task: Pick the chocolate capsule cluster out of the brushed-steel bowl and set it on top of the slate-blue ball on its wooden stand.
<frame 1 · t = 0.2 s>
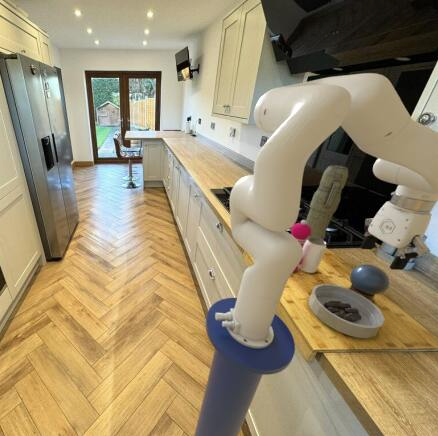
hand: (379, 258, 67), 16 cm above the worktop, tool pointing down, fingers open, 9 cm apart
pepper mill: (287, 267, 89), on the worktop
bowl: (340, 314, 69), on the worktop
moai statue figurine: (308, 245, 104), on the worktop
chocolate capsule cluster: (340, 313, 69), point 1 cm above the worktop, touching bowl
can: (305, 268, 89), on the worktop
ball stand: (359, 296, 76), on the worktop
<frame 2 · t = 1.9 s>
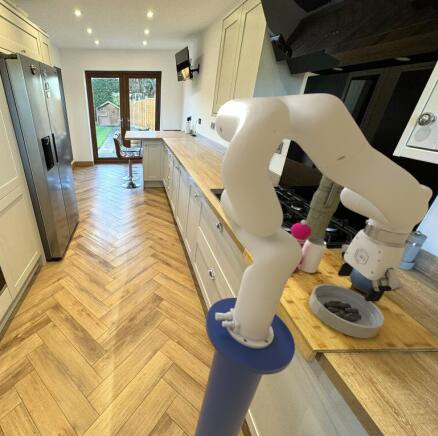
hand: (356, 287, 64), 10 cm above the worktop, tool pointing down, fingers open, 9 cm apart
nothing on the worktop moved.
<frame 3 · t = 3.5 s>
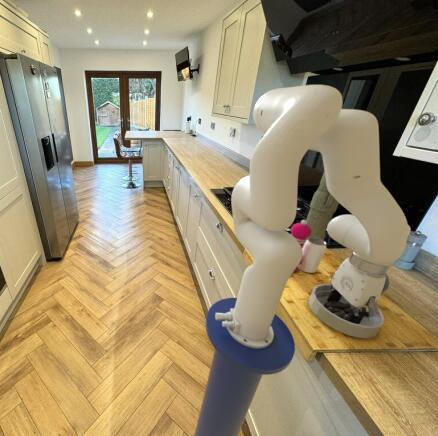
hand: (341, 312, 68), 1 cm above the worktop, tool pointing down, fingers closed on chocolate capsule cluster, 7 cm apart
chocolate capsule cluster: (340, 313, 69), point 1 cm above the worktop, touching bowl, gripper
everything else where it was.
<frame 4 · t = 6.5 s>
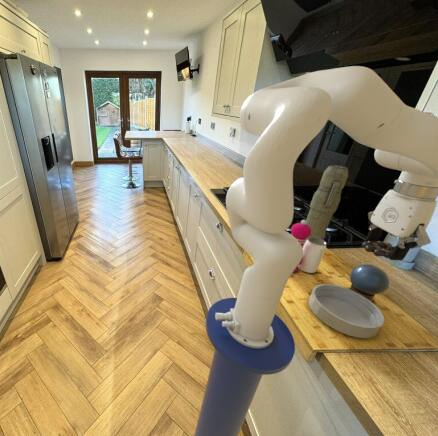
hand: (382, 250, 65), 20 cm above the worktop, tool pointing down, fingers closed on chocolate capsule cluster, 7 cm apart
chocolate capsule cluster: (381, 252, 65), point 19 cm above the worktop, touching gripper
everything else where it was.
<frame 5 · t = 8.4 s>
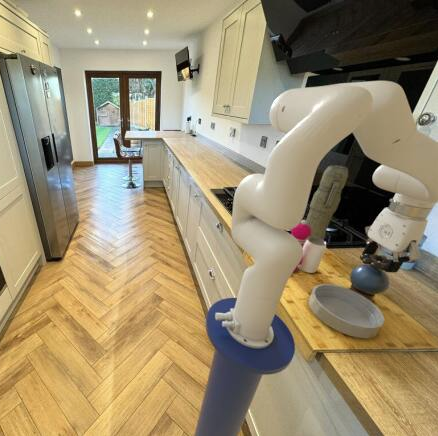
hand: (378, 263, 70), 13 cm above the worktop, tool pointing down, fingers closed on chocolate capsule cluster, 7 cm apart
chocolate capsule cluster: (377, 264, 70), point 13 cm above the worktop, touching gripper
everything else where it was.
when the fingers open (12 cm above the worktop, at t = 9.5 s): chocolate capsule cluster stays where it is, resting on ball stand.
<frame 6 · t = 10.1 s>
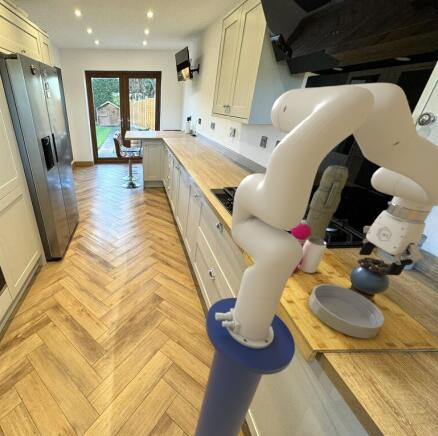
hand: (377, 264, 70), 13 cm above the worktop, tool pointing down, fingers open, 9 cm apart
chocolate capsule cluster: (375, 268, 71), point 11 cm above the worktop, touching ball stand
everything else where it was.
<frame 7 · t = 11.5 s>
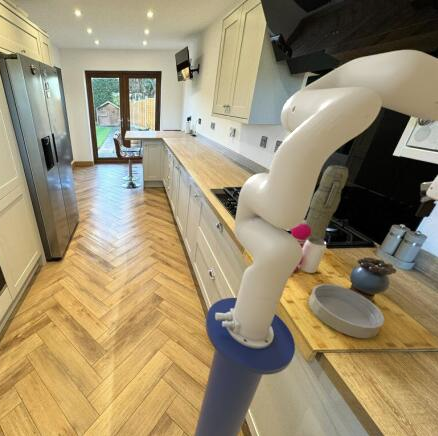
nothing on the worktop moved.
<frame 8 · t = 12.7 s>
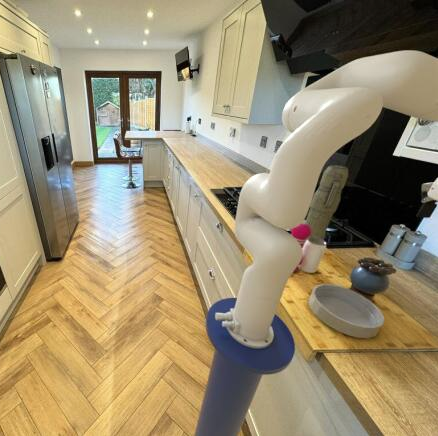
nothing on the worktop moved.
at the end: chocolate capsule cluster 0.0 cm off-centre on the ball stand, point 11.2 cm above the ball stand's base; chocolate capsule cluster tilted 0°; the gripper is holding nothing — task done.
